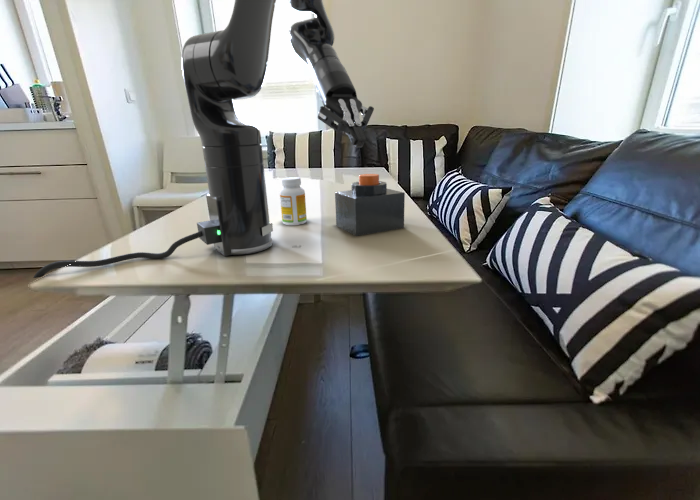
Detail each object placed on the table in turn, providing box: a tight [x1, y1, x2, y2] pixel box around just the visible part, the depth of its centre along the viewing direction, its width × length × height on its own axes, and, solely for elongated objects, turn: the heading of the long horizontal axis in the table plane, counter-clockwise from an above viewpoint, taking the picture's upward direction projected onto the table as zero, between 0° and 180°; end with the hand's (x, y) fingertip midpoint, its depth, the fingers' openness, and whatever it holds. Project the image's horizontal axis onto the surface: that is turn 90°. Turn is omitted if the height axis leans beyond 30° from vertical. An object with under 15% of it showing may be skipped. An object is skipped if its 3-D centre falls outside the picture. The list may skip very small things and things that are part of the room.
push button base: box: [334, 180, 406, 237], centre depth 72 cm, size 11×9×9 cm
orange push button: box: [358, 173, 380, 185], centre depth 71 cm, size 4×4×2 cm
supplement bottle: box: [279, 176, 308, 226], centre depth 78 cm, size 5×5×10 cm
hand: (360, 144), depth 71 cm, fingers closed
